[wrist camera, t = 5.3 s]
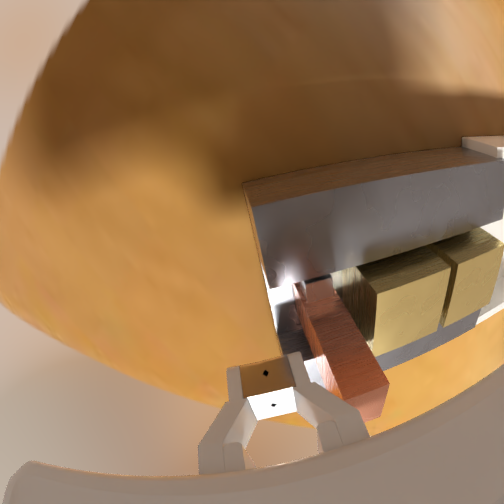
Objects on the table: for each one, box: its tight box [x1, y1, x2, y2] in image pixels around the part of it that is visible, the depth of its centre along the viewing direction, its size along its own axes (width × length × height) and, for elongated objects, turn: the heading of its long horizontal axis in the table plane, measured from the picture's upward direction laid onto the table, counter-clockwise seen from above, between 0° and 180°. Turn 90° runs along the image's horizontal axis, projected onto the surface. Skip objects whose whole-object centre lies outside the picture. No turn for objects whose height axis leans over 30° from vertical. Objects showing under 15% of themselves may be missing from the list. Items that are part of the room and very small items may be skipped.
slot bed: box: [242, 147, 504, 389], centre depth 14 cm, size 12×14×4 cm
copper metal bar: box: [292, 274, 390, 423], centre depth 12 cm, size 4×2×7 cm, turn 12°
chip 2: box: [342, 246, 451, 357], centre depth 13 cm, size 4×4×4 cm
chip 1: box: [425, 227, 504, 328], centre depth 13 cm, size 4×4×4 cm
